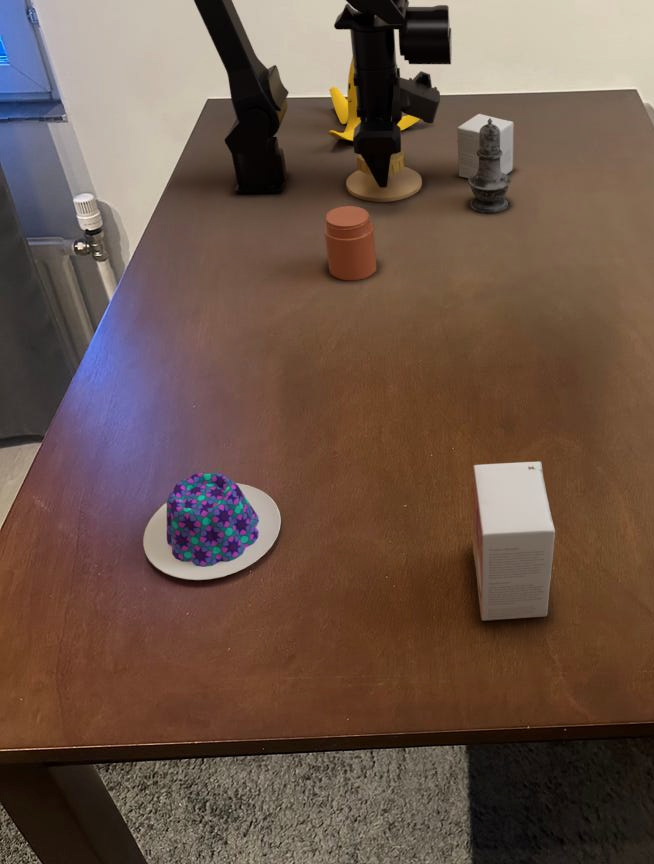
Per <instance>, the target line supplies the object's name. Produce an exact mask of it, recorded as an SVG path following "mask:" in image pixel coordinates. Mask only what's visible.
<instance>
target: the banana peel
mask: <svg viewBox="0 0 654 864" xmlns="http://www.w3.org/2000/svg"><path fill="white" fill-rule="evenodd" d="M350 61H351V62H350V66H349V71H348V72H349V73H348V78H347V91H346V92H347V98H346V97H345V95H343V94H342V92H341V91H340V89H339V88H337V87H336V86H333V87H330V88H329V94H330V97H331V101H332V104H333V107H334V110H335V113H336V116H337V117H338V120H339V122H340V124H342V125H346V127H345V129H344V131H343V132H339V131H336V130H335V129H331V130H329V131H328V134H329V135H330V136H331V137H333V138H335V139H339V140H346V141H350V142H353V135H354V129H355V127H356V126H357V125H358V124H359V123H360V122H361V120H360V117H357V112H356V108H357V97H356V86H354V81H353V76H354V65H353V56H352V57H351V60H350ZM420 120H421V119H419V118H416V117H413V116H410V115H407V114H406V115H404V116H403V115H402V119H401V120H400V122H399V123H398V124H397V125H398V126H399V127H400V129H401V131H404V130H405V129H407V128H409V127H411V126H413V125H414V124H415V123H417V122H419V121H420Z"/></svg>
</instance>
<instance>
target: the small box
mask: <svg viewBox="0 0 654 864" xmlns="http://www.w3.org/2000/svg"><path fill="white" fill-rule="evenodd" d="M555 536H556V529H555V525H554V522H553V518H552V513H551V510H550V504H549V499H548V494H547V489H546V484H545V479H544V473H543V465H542V461H523V462H522V461H519V462H501V463H486V464H485V463H484V464H474V465H473V466H472V553H473V559H474V567H475V574H476V582H477V584H476V585H477V594H478V602H479V603H478V604H479V611H480V613H479V614H480V619H481V621H483V622H484V621H497V620H512V619H528V618H544V617H545V618H546V617H547V616H548V609H549V599H550V597H549V596H550V587H551V580H552V579H551V576H552V570H553V569H552V568H553V558H554V549H555V540H556V539H555V538H556V537H555Z"/></svg>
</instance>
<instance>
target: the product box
mask: <svg viewBox="0 0 654 864" xmlns="http://www.w3.org/2000/svg"><path fill="white" fill-rule="evenodd" d="M489 118H491V120H492V124H493V125H496V126H497V127H498V128H499V129H500V150H502V152H503V154H502V156H501V157H500V168H501V172H502V173H504V174H506V175H508V174H509V173H511V172H513V169H514V122H513V121H511V120H508V119H507V120H506V119H502V118H498V117H495V116H489V115H486V114H482V113H478V114H476V115H474V116H473V117H471V118H470V119H468V120H467V121H465V122H464V123H462V124H461V125H459V126H458V127H457V128H456V130H457V131H456V132H457V157H458V158H457V159H458V160H457V162H458V177H461V178H465V179H469V177H470V176H471V175H473V174H475V173H477V172H478V168H479V156H477V151H478V150H479V132H480V129H481V127H482V126H484V125H486V124H488V122H487V121H488V119H489Z"/></svg>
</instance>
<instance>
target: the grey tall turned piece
mask: <svg viewBox="0 0 654 864" xmlns="http://www.w3.org/2000/svg"><path fill="white" fill-rule="evenodd" d="M487 122H488V124H486V125H484V126H482V127H481V129H480V132H479V150H478V151H477V156H479V168H478V172H477V173H475V174H473V175H471V176H470V177H469V178H467V181H468V185H470V191H471V192H472V194H473V195H474V198H473V199H472V200H471V201H470V207H471V208H472V209H473V210H474V211H476V212H479V213H482V214H497V213H500V212H503V211H505V210H506V209H507V208H508V206H509V203H508V201H507V200H506V199H505V198H504V196H506V193H507V191H508V189H509V186H510V184H511V182H512V181H511V180H512V179H511V178H510V176H509V175H508V174H504V173H502V172H501V168H500V157H501V156H502V154H503V152H502V150H500V129H499V128H498V127H497V126H496V125H493V124H492V120H491V118H489V119H488V121H487Z"/></svg>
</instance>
